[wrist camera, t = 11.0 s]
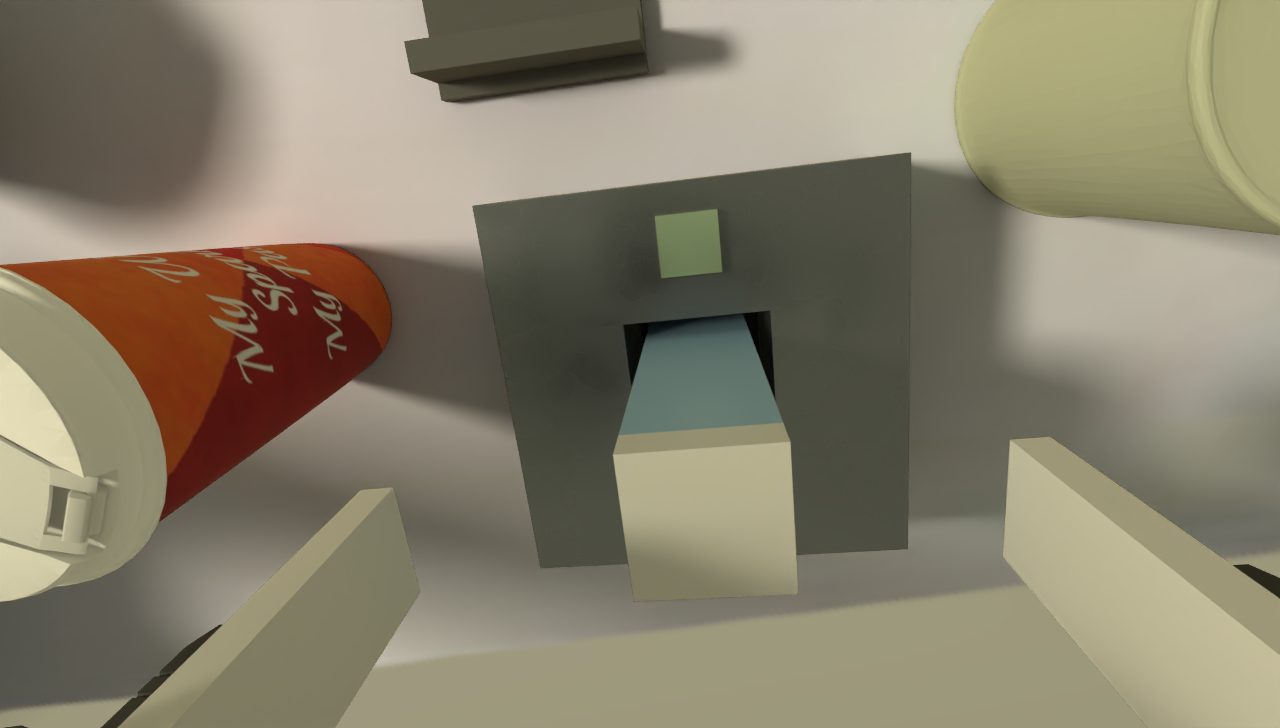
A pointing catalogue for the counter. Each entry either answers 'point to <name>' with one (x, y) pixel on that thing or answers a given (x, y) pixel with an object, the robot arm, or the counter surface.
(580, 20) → the dark grey bridge bracket
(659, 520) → the plug
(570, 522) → the port
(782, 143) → the counter surface
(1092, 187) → the can
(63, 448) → the coffee cup
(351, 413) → the counter surface
